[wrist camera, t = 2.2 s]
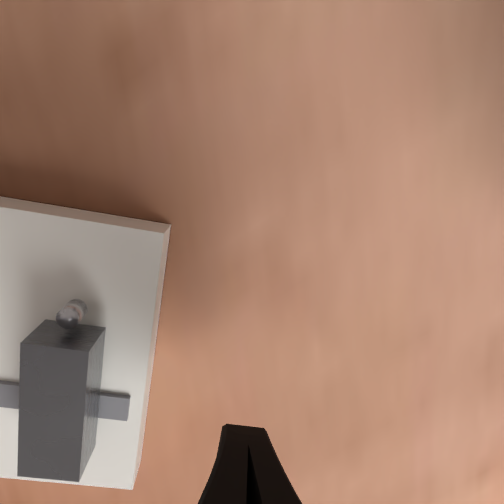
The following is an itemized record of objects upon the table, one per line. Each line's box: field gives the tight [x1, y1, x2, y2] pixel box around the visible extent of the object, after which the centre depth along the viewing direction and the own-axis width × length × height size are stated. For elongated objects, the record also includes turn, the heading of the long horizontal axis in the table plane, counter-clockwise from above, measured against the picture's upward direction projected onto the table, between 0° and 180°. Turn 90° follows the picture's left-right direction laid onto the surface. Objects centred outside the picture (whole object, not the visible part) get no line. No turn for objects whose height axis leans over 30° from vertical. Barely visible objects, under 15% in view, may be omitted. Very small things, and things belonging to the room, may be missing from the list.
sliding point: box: [17, 299, 106, 482], centre depth 13 cm, size 2×6×2 cm, turn 170°
